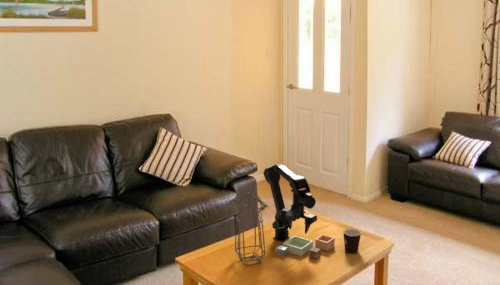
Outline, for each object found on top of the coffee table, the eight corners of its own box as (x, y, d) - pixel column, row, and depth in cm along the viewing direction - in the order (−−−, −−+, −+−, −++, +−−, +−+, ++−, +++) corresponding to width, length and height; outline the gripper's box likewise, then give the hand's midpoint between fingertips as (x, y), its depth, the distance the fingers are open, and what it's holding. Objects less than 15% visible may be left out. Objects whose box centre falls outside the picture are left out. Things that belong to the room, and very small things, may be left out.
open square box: (315, 248, 259) (315, 239, 258) (322, 243, 264) (322, 234, 263) (327, 251, 255) (327, 242, 253) (334, 246, 260) (334, 237, 259)
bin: (282, 250, 257) (282, 243, 256) (294, 242, 265) (294, 235, 264) (301, 256, 250) (301, 249, 249) (312, 248, 259) (313, 241, 258)
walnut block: (309, 257, 249) (309, 249, 248) (313, 254, 252) (313, 247, 251) (316, 259, 247) (316, 252, 246) (320, 256, 250) (320, 249, 249)
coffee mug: (360, 255, 251) (361, 236, 248) (342, 253, 252) (343, 235, 250) (359, 245, 262) (360, 227, 259) (343, 243, 263) (343, 226, 261)
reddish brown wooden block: (275, 254, 253) (275, 247, 252) (279, 251, 256) (279, 244, 255) (283, 256, 250) (283, 250, 249) (287, 254, 253) (287, 247, 252)
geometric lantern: (239, 270, 237) (236, 199, 229) (231, 256, 252) (228, 189, 244) (271, 265, 241) (269, 195, 233) (261, 252, 256) (259, 186, 248)
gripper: (273, 202, 251) (273, 232, 254) (306, 211, 240) (305, 241, 244) (286, 196, 259) (285, 224, 263) (318, 204, 248) (317, 233, 252)
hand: (298, 231), depth 255 cm, fingers open, 9 cm apart
